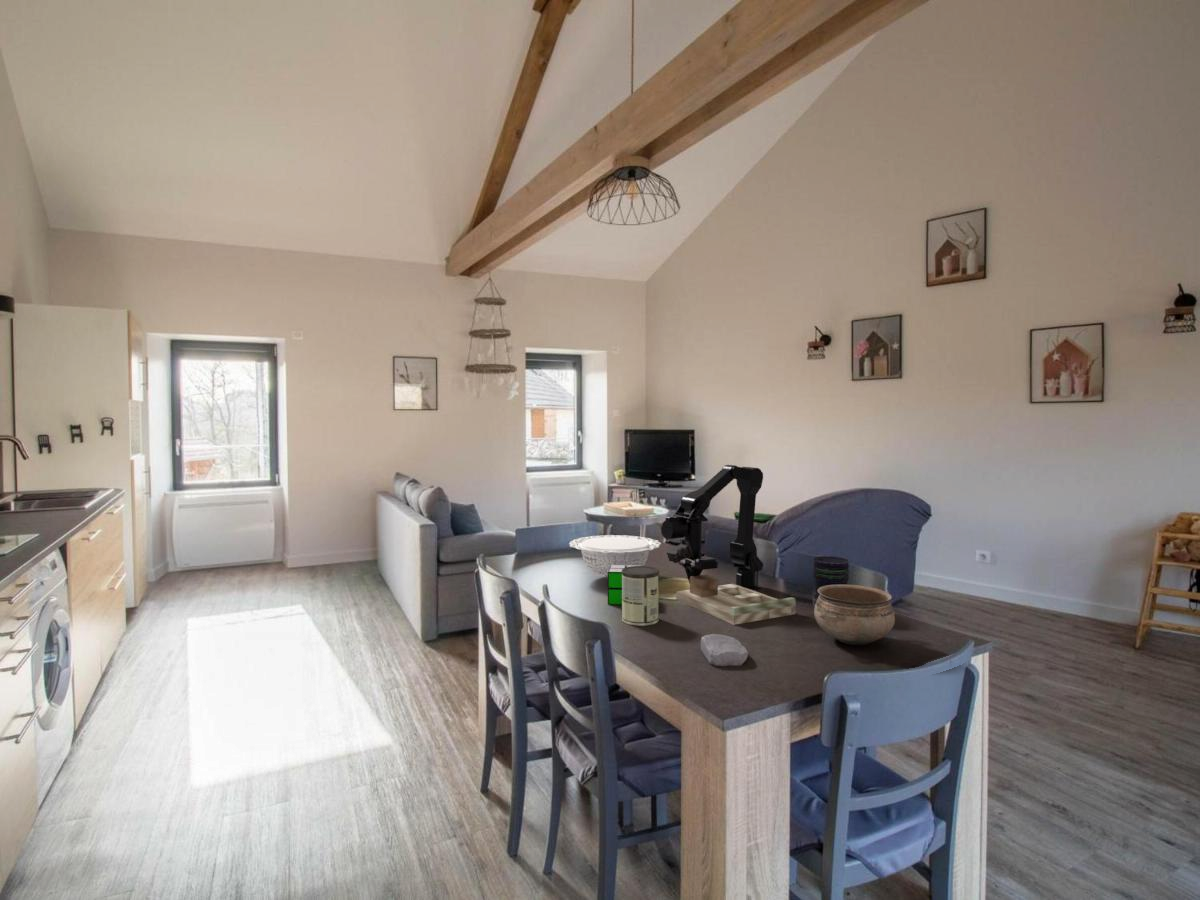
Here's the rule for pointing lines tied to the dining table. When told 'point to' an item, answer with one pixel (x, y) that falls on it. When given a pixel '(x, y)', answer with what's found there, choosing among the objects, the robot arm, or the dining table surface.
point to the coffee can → (640, 595)
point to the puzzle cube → (615, 584)
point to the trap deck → (739, 604)
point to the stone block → (723, 650)
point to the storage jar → (829, 573)
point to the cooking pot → (854, 613)
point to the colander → (614, 550)
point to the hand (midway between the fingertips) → (692, 586)
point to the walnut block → (703, 585)
